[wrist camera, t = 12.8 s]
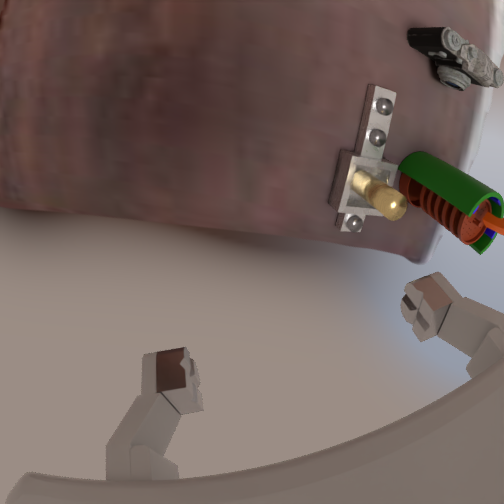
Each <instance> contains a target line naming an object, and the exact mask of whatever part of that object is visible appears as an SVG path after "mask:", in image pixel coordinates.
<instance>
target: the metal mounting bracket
mask: <svg viewBox="0 0 504 504" xmlns="http://www.w3.org/2000/svg"><path fill="white" fill-rule="evenodd" d="M395 98H396V93H395V92H392V91H390V90H387V89H384V88H381V87H379V86H376V85H369V84H368V89H367V95H366V100H365V105H364V110H363V115H362V119H361V124H360V129H359V133H358V138H357V142H356V146H355V151H354V152H351V151H346V150H341V151H340V156H339V160H338V164H337V169H336V173H335V177H334V181H333V185H332V189H331V193H330V197H329V201H328V203H329V204H330V205H331V206H332V207H333V208H334V209H335V210H336V211H337V212H339V214H338V217H337V221H336V224H335V226H336V227H337V228H338V229H339V230H340V231H351V232H360V231H361V228H362V226H363V222H364V219H365V215H375V216H383V214H382V213H380V212H379V211H378V210H377V209H375V208H374V207H373V206H372V205H370V204H369V203H368V202H367V201H365V200H364V199H363V198H362V197H360V196H359V195H358V194H356V193H355V192H354V191H353V190H352V189H351V186H352V182H353V178H354V174H355V173H356V172H357V171H360V170H364V171H366V172H368V173H370V174H371V175H373V176H375V177H376V178H378V179H379V180H381V181H383V182H384V183H386V184H387V185H389V186H390V187H392V186H393V183H394V179H395V176H396V172H397V169H398V165H397V164H395V163H393V162H391V161H389V160H387V159H385V158H382V155H383V151H384V147H385V143H386V139H387V135H388V130H389V126H390V121H391V117H392V112H393V107H394V103H395Z"/></svg>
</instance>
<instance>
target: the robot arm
mask: <svg viewBox="0 0 504 504" xmlns="http://www.w3.org/2000/svg"><path fill="white" fill-rule="evenodd" d="M404 291H405V293H406V294H405V296H404V297H403V298H402V301H401V312H402V314H403V316H404V318H405V320H406V321H407V322H409V323H411V324H413V328H412V330H413V332H414V333H415V335H416V336H417V338H418V339H419V341H420V342H422V341H425V340H427V339H429V338H432V337H434V336H436V335H437V336H438V337H439V338H441V339H443V340H444V341H446V342H448V343H449V344H451V345H452V346H454V347H456V348H457V349H459V350H460V351H462V352H463V353H465V354H467V355H468V356H470V357H471V358H472V359H471V360H470V362H469V363H468V365H467V367H466V370H467V372H468V373H469V375H470V377H471V378H472V379H471V380H470V381H468V382H466V383H465V384H463V385H462V386H460V387H458V388H457V389H455V390H454V391H452V392H450V393H448V394H447V395H445V396H443V397H442V398H440V399H438V400H437V401H434V402H433V403H431V404H429V405H427V406H425V407H423V408H422V409H419V410H418V411H416V412H414V413H412V414H410V415H408V416H406V417H403V418H401V419H399V420H397V421H395V422H393V423H391V424H388V425H386V426H384V427H382V428H380V429H378V430H375V431H373V432H370V433H368V434H365V435H363V436H360V437H358V438H355V439H353V440H350V441H347V442H344V443H341V444H339V445H336V446H333V447H330V448H327V449H324V450H321V451H318V452H314V453H312V454H308V455H304V456H301V457H298V458H294V459H291V460H286V461H283V462H279V463H274V464H270V465H266V466H261V467H257V468H252V469H247V470H242V471H237V472H231V473H224V474H217V475H210V476H203V477H194V478H183V479H179V473H178V466H177V465H176V464H175V463H173V462H171V461H170V460H168V459H166V458H164V457H163V456H164V454H165V452H166V449H167V447H168V445H169V443H170V440H171V438H172V436H173V434H174V432H175V429H176V427H177V425H178V422H179V420H180V418H181V415H183V414H189V413H194V412H199V411H203V402H202V395H201V393H200V391H199V390H198V387H199V385H200V378H199V373H198V369H197V366H196V364H195V362H194V360H193V359H191V358H190V355H189V351H188V350H187V348H186V347H183V348H177V349H171V350H165V351H160V352H154V353H148V354H144V356H143V358H142V385H141V388H142V389H141V390H142V391H141V395H139V396H137V398H136V399H135V401H134V402H133V404H132V405H131V407H130V409H129V410H128V412H127V413H126V415H125V417H124V418H123V420H122V421H121V423H120V424H119V426H118V427H117V429H116V430H115V432H114V434H113V435H112V437H111V438H110V440H109V442H108V443H107V445H106V480H91V479H79V478H69V477H61V476H53V475H47V474H41V473H36V472H27V473H25V474H24V475H23V476H22V477H21V478H20V479H19V480H18V482H17V483H16V484H15V486H14V487H13V489H12V490H11V491H10V493H9V494H8V496H7V499H6V502H5V504H504V314H503V313H501V312H498V311H496V310H494V309H492V308H490V307H487V306H485V305H483V304H480V303H478V302H476V301H474V300H471V299H469V298H467V297H464V298H462V296H461V295H460V294H459V293H458V292H457V291H456V290H455V288H454V287H453V286H452V285H451V284H450V283H449V282H448V281H447V279H446V278H445V277H444V276H443V275H442V274H441V273H439V272H435V273H433V274H430V275H428V276H424V277H422V278H419V279H417V280H414V281H412V282H409V283H407V284H406V286H405V289H404Z"/></svg>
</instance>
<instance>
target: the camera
mask: <svg viewBox="0 0 504 504" xmlns="http://www.w3.org/2000/svg"><path fill="white" fill-rule="evenodd" d="M407 40H408V43H409V45H410V46H411V47H412V48H414V49H416V50H417V51H419V52H421V53H422V54H424V55H425V56H427V57H428V58H430V59H432V60H433V61H435V65H436V67H437V69H438V70H437V73H438V74H439V78H440V81H441V82H442V83H443V84H445V85H446V86H448V87H451V88H453V89H456V90H459V91H464V90H465V89H466V88H467V87H469V86H470V83H471V84H475V85H480V86H484V87H489V86H491V87H495V88H499V86H501V85H502V84H503V81H504V79H503V78H504V77H503V73H502V71H501V70H500V69H499V68H498V67H497V66H496V65H495V64H494V63H493V62H492V61H491V60H490V58H489V57H488V56H487V55H485V54H484V53H483V51H482V50H480V49H478V48H477V47H476V46H475V45H474V44H469V41H468V40H464V39H463V38H462V37H460V36H459V35H458V33H457V32H455V31H453V30H452V29H450V28H449V27H431V28H411V29H410V30H409V31H408V34H407Z"/></svg>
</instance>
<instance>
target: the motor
mask: <svg viewBox="0 0 504 504" xmlns="http://www.w3.org/2000/svg"><path fill="white" fill-rule="evenodd" d="M398 170H400V171H401V172H402V174H401V177H400V182H399V189H400V193H401V194H402V195H404V196H405V197H406V199H407V201H408V202H409V203H411V204H412V205H413V206H415V207H419V208H420V207H421V208H422V209H423V211H424V212H426V213H427V214H429V215H430V216H431V217H432V218H434V219H435V220H437V222H439V223H440V224H441V225H443V226H444V227H445V228H446V229H447V230H448V231H450V232H451V233H452V234H453V235H455V236H456V237H457V238H459V239H460V241H462V242H463V243H464V244H466V245H469V246H471V247H472V248H473V249H474V250H475V251H476V252H478V253H479V254H480V255H481V254H482V253H483V252H484V251H485V250H486V249H487V248H488V247H489V246H490V245H491V243H492V242H493V240H494V239H495V237H496V235H497V233H499V234H501V235H504V218H503V216H504V202H503V198H502V196H501V195H500V194H499V193H497V192H496V191H494V190H493V189H491V188H489V187H488V186H486V185H485V184H483V183H481V182H479V181H478V180H476V179H474V178H473V177H471V176H469V175H468V174H466V173H464V172H462V171H461V170H459V169H457V168H455V167H453V166H451V165H450V164H448V163H446V162H444V161H442V160H440V159H438V158H436V157H434V156H432V155H430V154H428V153H426V152H421V151H420V152H415V153H412V154H410V155H409V156H408V157H406V158H405V159H404V160H403V161H402V163H401V164H400V166H399V167H398ZM416 181H417V182H416Z"/></svg>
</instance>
